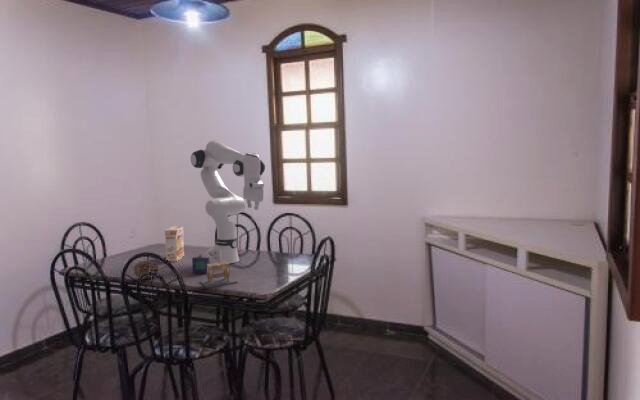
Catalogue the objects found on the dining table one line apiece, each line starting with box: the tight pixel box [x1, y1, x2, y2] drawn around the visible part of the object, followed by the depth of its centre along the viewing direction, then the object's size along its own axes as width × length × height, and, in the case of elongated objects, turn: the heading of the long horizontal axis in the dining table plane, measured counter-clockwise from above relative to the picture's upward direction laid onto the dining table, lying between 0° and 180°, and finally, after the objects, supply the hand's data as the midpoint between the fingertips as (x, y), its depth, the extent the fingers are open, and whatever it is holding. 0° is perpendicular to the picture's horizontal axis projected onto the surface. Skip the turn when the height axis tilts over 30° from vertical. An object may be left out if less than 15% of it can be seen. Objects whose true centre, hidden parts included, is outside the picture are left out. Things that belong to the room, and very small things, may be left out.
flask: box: [191, 253, 211, 275], centre depth 255 cm, size 9×3×11 cm, turn 95°
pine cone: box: [133, 259, 168, 280], centre depth 248 cm, size 22×10×10 cm, turn 148°
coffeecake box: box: [164, 225, 185, 263], centre depth 288 cm, size 15×7×20 cm, turn 179°
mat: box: [199, 276, 238, 289], centre depth 237 cm, size 16×11×1 cm
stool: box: [206, 261, 231, 284], centre depth 236 cm, size 9×6×10 cm
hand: (252, 208), depth 254 cm, fingers open, 8 cm apart
